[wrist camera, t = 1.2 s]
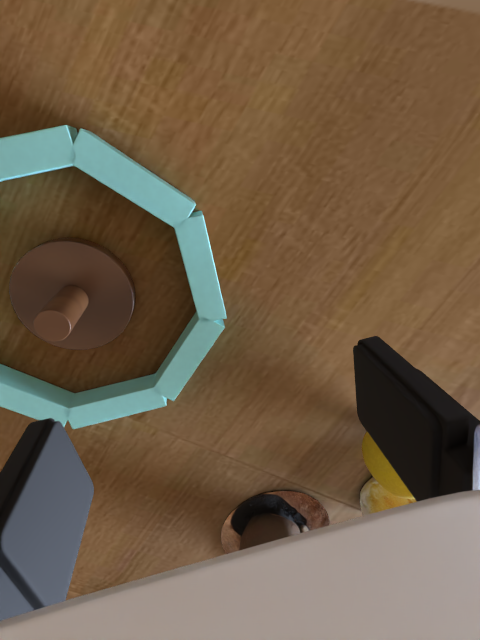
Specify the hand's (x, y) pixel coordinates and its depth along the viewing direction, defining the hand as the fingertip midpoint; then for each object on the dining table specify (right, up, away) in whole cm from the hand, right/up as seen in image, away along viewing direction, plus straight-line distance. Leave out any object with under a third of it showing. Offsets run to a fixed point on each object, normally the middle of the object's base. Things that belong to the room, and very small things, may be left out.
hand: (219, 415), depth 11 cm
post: (-11, +5, +14) cm, 19 cm away
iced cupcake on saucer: (+4, -20, +28) cm, 35 cm away
